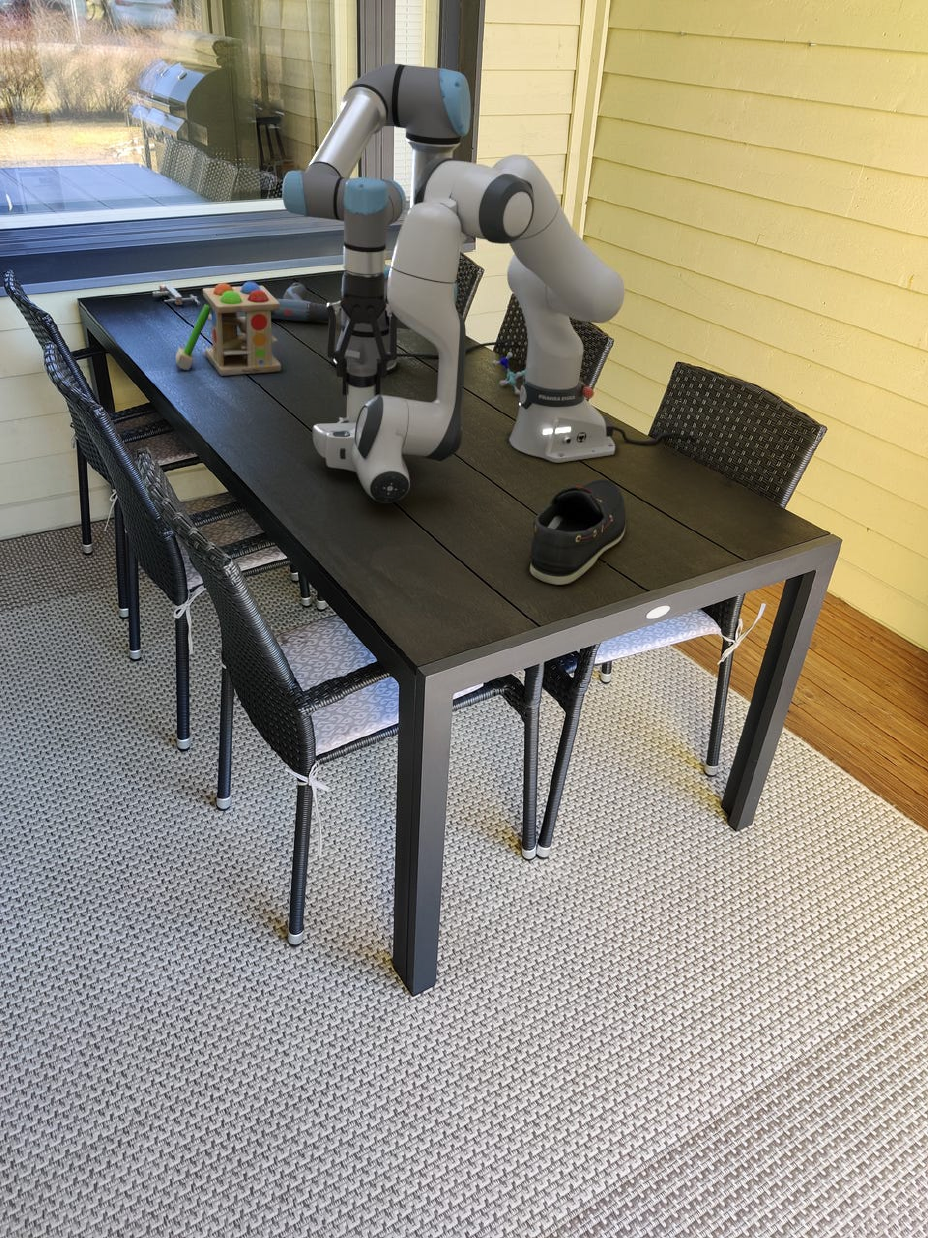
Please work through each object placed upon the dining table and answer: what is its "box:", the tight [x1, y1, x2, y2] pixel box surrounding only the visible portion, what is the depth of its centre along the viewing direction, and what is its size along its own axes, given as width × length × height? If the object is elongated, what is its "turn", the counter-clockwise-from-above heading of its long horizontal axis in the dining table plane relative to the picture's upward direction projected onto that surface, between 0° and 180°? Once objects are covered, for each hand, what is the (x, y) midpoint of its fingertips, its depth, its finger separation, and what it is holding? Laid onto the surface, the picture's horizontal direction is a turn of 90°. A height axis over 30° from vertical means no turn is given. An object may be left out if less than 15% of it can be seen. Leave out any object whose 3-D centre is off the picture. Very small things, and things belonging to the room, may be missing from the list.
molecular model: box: [491, 351, 527, 396], centre depth 231 cm, size 12×10×10 cm
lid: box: [347, 366, 377, 387], centre depth 189 cm, size 6×6×2 cm
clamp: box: [152, 284, 202, 306], centre depth 265 cm, size 15×2×10 cm
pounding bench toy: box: [174, 281, 282, 377], centre depth 225 cm, size 23×14×18 cm, turn 116°
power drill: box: [271, 282, 338, 322], centre depth 265 cm, size 5×19×20 cm
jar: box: [346, 383, 376, 423], centre depth 193 cm, size 5×5×16 cm
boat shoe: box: [529, 479, 627, 586], centre depth 172 cm, size 13×33×10 cm, turn 147°
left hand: (361, 392), depth 191 cm, fingers closed on lid, 6 cm apart
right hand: (359, 420), depth 195 cm, fingers closed on jar, 5 cm apart
